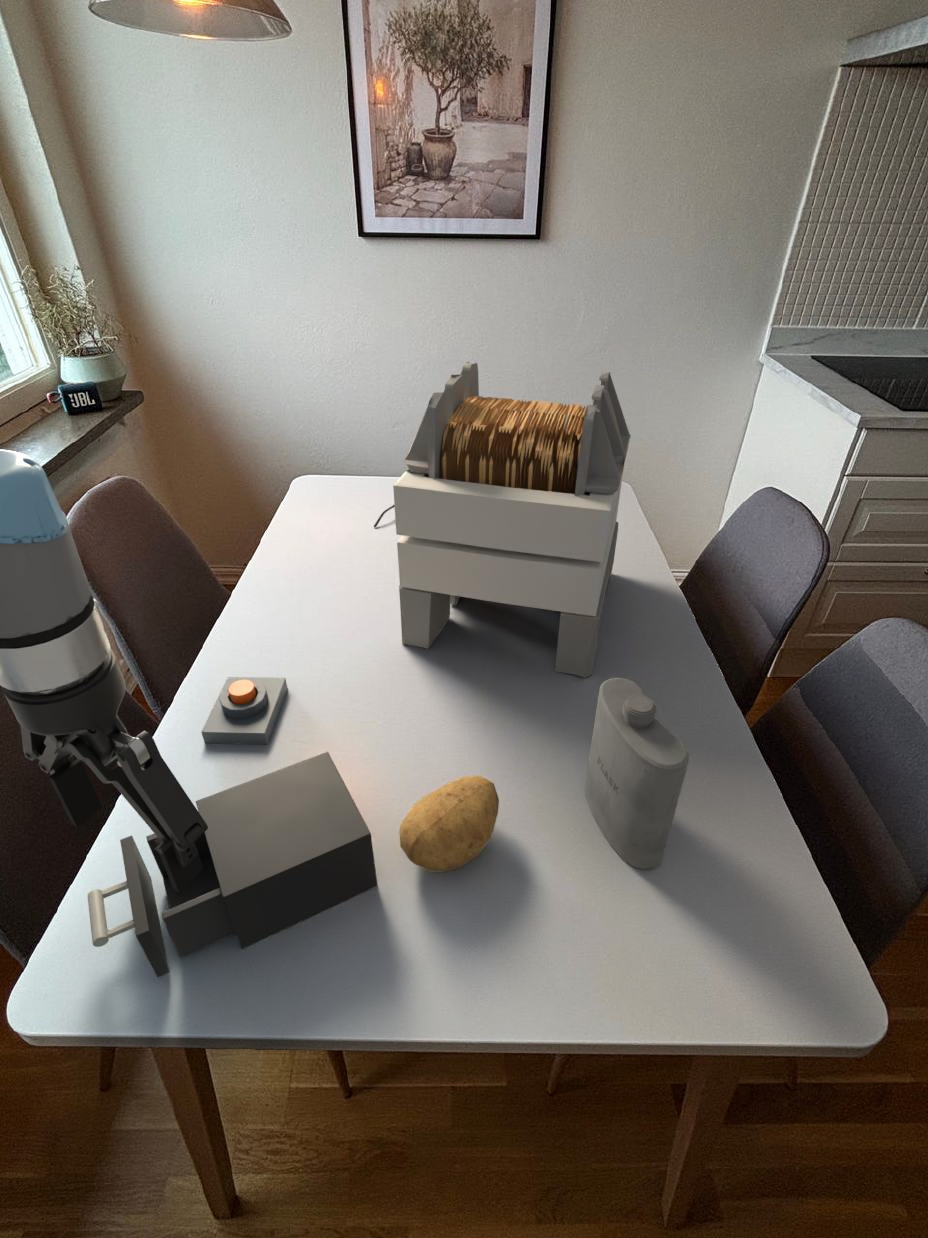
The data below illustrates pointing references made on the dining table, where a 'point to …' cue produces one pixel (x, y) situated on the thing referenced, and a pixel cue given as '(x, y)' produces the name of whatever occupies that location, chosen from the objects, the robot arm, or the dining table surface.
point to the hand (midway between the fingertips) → (136, 846)
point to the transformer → (511, 510)
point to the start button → (242, 691)
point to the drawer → (189, 920)
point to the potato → (450, 824)
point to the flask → (633, 773)
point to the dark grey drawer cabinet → (287, 847)
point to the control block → (246, 713)
